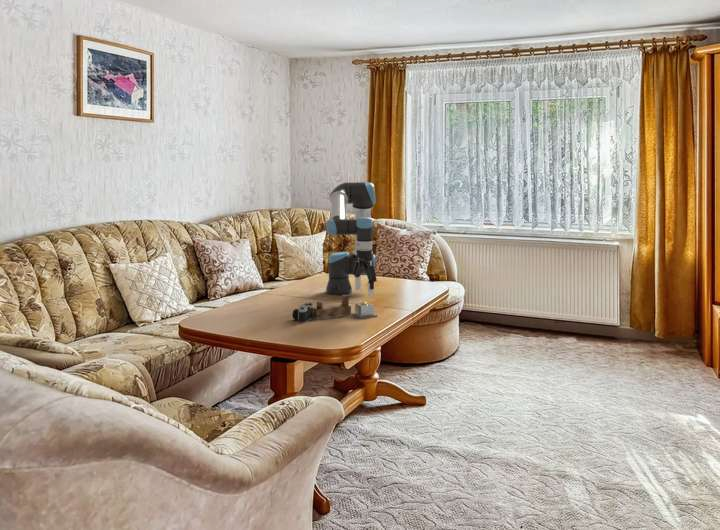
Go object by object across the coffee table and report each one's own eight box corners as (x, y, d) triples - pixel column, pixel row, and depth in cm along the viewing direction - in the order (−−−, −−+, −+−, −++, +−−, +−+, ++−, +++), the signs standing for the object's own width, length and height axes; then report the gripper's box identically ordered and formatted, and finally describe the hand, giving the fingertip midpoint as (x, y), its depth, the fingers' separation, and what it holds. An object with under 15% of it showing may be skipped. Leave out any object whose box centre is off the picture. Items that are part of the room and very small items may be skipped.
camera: (299, 316, 279) (298, 298, 277) (314, 316, 278) (313, 298, 276) (290, 325, 267) (289, 306, 265) (306, 325, 265) (305, 307, 263)
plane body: (316, 319, 272) (316, 299, 271) (312, 316, 277) (311, 297, 276) (351, 315, 281) (351, 296, 279) (346, 312, 286) (346, 294, 284)
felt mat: (351, 314, 283) (351, 313, 283) (367, 312, 287) (367, 311, 287) (360, 318, 274) (360, 317, 274) (377, 316, 278) (377, 315, 278)
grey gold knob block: (354, 313, 281) (354, 302, 280) (367, 312, 285) (367, 300, 284) (361, 316, 276) (361, 304, 275) (373, 314, 279) (373, 303, 278)
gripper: (346, 246, 284) (346, 288, 288) (369, 253, 263) (369, 299, 266) (359, 245, 288) (359, 287, 292) (384, 252, 266) (383, 297, 270)
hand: (364, 292), depth 279 cm, fingers open, 13 cm apart
